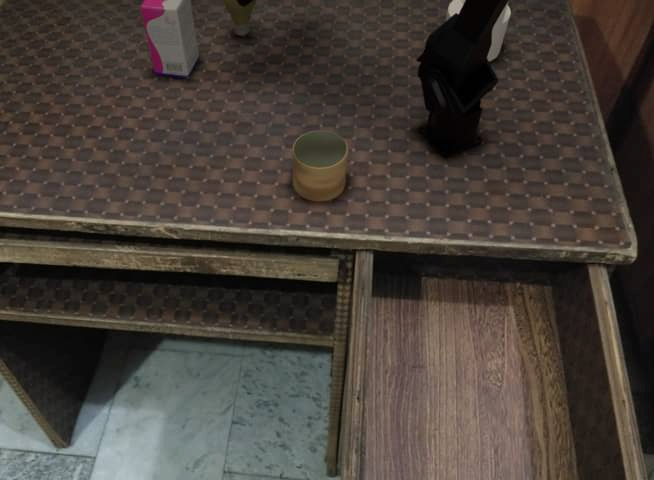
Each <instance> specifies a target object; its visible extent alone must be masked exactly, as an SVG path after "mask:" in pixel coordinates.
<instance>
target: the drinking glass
mask: <svg viewBox="0 0 654 480" xmlns="http://www.w3.org/2000/svg"><path fill="white" fill-rule="evenodd" d="M464 2H465V0H452V1H451V2H450V3H449V4H448V7H447V11H446V16H445V17H446V18H445V21H444V22H446V21H447V20H448V19H449V18H450V17H452V16H453V15H454V14H455V13H457V14H459V12H460V10H461V8H462V6H463V4H464ZM511 14H512V12H511V7H510V6H509V2H508V3H507V4H506V6H505V8H504V9H503V11H502V13H501V15H500V16H499V18H498V20H497V21H496V23H495V25H494V27H493V30H492V45H491V47H490V50H489V53H488V56H487V59H488V61H489V62H492V61H493V60H495V59H496V58H497V57H498V56H499V55H500V52H501V49H502V45H503V42H504V39H505V35H506V32H507V28H508V25H509V21H510V18H511Z"/></svg>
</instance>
